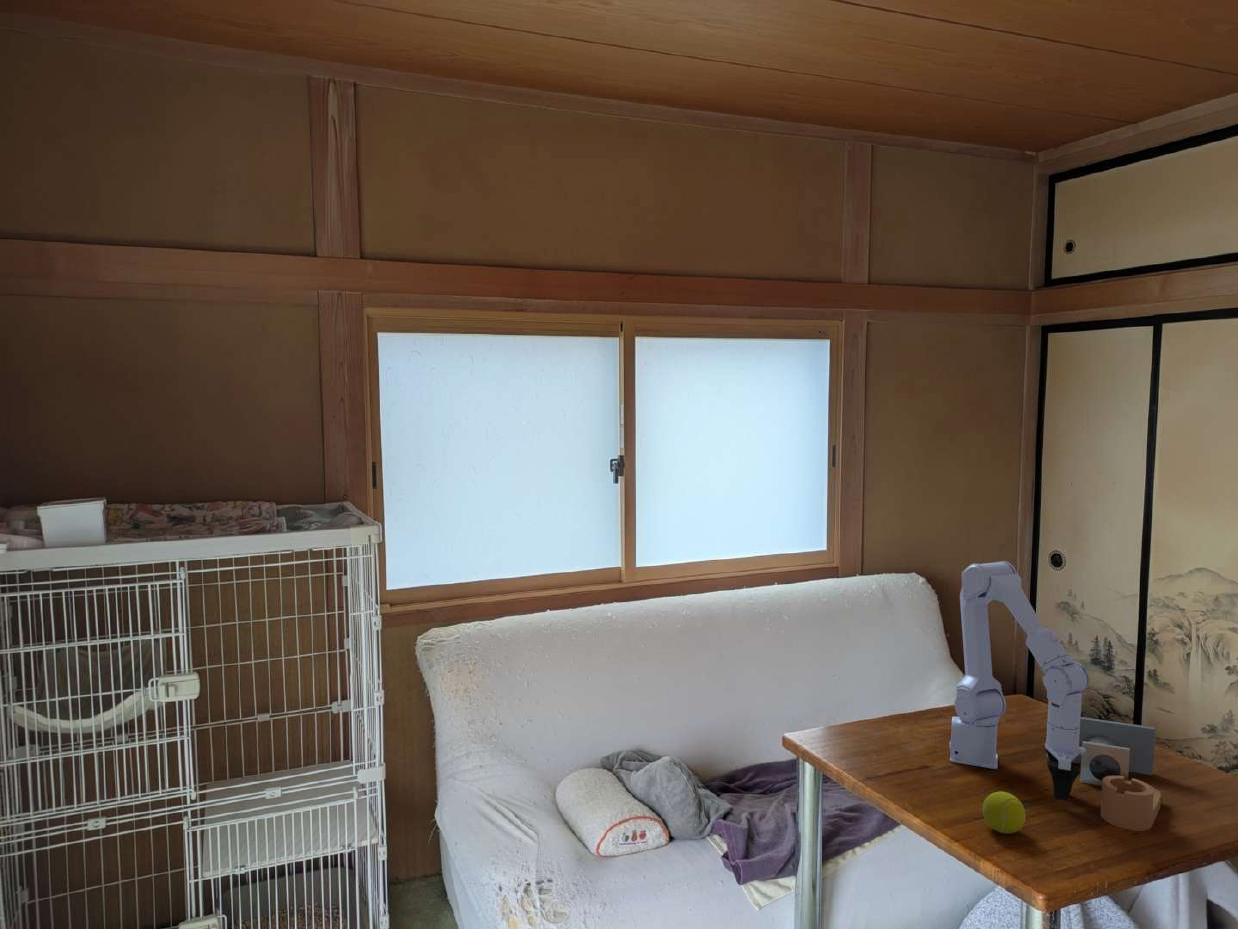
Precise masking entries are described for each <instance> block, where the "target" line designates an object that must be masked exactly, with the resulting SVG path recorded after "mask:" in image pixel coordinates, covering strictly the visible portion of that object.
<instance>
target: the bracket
mask: <svg viewBox="0 0 1238 929" xmlns="http://www.w3.org/2000/svg"><path fill="white" fill-rule="evenodd" d="M1100 798H1101V801H1100V817H1101V818H1102V819H1103V820H1104V821H1105V822H1107V823H1108V824H1111V825H1113V826H1115V827H1117V828H1118V827H1119V828H1122V829H1125V830H1130V831H1139V832H1140V831H1147V830H1150V829H1152V827H1153V825H1154V822H1155V821H1156V818H1157V816H1158V814H1159V811H1160V809H1161V799H1162V794H1161V792H1160V791H1159V790H1158V789H1157V788H1156V787H1154V786H1152V785H1150V784H1148V783H1146V782H1145V781H1142V780H1139V779H1137V778H1131V780H1130V779H1128V780H1124V776H1107V777H1104V778H1103V780H1102V786H1101V797H1100Z"/></svg>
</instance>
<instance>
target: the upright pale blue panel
mask: <svg viewBox="0 0 1238 929" xmlns="http://www.w3.org/2000/svg"><path fill="white" fill-rule="evenodd" d="M1155 735H1156V728H1155V727H1153V726H1146V725H1140V724H1139V725H1138V724H1134V723H1127V722H1119V721H1113V720H1112V721H1111V720H1105V719H1098V718H1091V717H1085V716H1081V719H1080V736H1079V747H1083V748H1085V750H1086V754H1079V755H1078V756H1077V757H1075V758H1074V759H1073V760H1072V761H1071V763H1074V764H1075V763H1076V764H1080V777H1079V778H1080V779H1079V782H1080V783H1084V784H1089V785H1096V786H1101V787H1102V780H1103V778H1104V777H1107V776H1124V780H1129V773H1135V774H1141V775H1142V774H1143V775H1148V776H1153V771H1154V755H1155V753H1154V752H1155V741H1156V740H1155V739H1156V738H1155V737H1156V736H1155ZM1046 759H1049V757H1048V754H1047V753H1046Z"/></svg>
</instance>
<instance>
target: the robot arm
mask: <svg viewBox="0 0 1238 929" xmlns="http://www.w3.org/2000/svg"><path fill="white" fill-rule="evenodd" d="M993 600H994V601H997V602H1001V603H1003V604H1005V607H1006V608H1007V609H1008V610H1009V611H1010V613H1011V614H1012V616H1013V617H1014V619H1015V621H1017V623H1018V625H1020V627H1021V628H1022V630H1023V631H1024V633H1026V640H1025V645H1026V647H1027V648H1028V649H1029V651H1030V652H1031V654H1032V656H1033V657H1034V659H1035V660H1036V662H1037V664H1038V665H1039V667H1040V669H1041V670H1042V672H1043V673H1044V675H1042V683H1043V686H1044V688H1045V690H1046V695H1047V696H1046V697H1047V698H1046V699H1047V700H1048V704H1047V705H1048V707H1047V709H1048V710H1047V723H1046V741H1045V743H1044V750H1045V752H1046V755H1047V754H1048V757H1049V758H1048V760H1047V761H1046V765H1047V768H1048V770H1049V773H1050V776H1051V779H1052V783H1053V784H1052V785H1053V793H1054V798H1055V799H1056V800H1059V801H1065V802H1067V801H1068V800H1069V797H1070V794H1071V791H1072V788H1073V785H1074V782H1075V780H1076V779H1077V777H1078V776H1079V775H1080V774H1081V767H1076V766H1072V762H1071V761H1072V760H1073V759H1074V758H1075V757H1077V756H1078V755H1079V754H1086V750H1085V748H1083V747H1079V736H1080V719H1081V717H1082V716H1081V715H1082V701H1083V699H1082V696H1083V693H1082V692H1084V691H1086V690H1087V688H1089V685H1090V675H1089V673H1088V671H1087V669H1086V667H1085V666H1084V665H1082V664H1081V663H1080V662H1077V661H1075V660H1074V658H1072V657H1071V656H1070V655H1069V654H1068V652H1067V651H1066V649H1065V647H1064V646H1063V645H1062V643H1061V642H1060V637H1059V636H1058V634H1057V633H1055V632H1054V631H1053V630H1052V629H1050V628H1046V627H1044V625H1042V622H1041V620H1040V619H1039V617H1038V615H1037V613H1036V612H1035V609H1034V607H1033V606H1032V604H1031V602H1030V601H1029V599H1028V597H1027V595H1026V593H1025V592H1024V590H1023V588H1022V577H1021V576H1020V575H1019V574H1018V573H1017V570H1016V568H1015V567H1014V565H1013V564H1012V563H1010V562H1008V561H1005V560H1001V561H997V562H988V563H985V562H984V563H972V564H970V565H969V566H967V567H966V568H965V569H964V570H963V571H962V572H961V589H960V593H959V603H960V617H961V630H962V634H961V635H962V644H963V647H962V648H963V656H964V657H963V658H964V659H963V662H964V676H963V678H962V679H961V680H960V681H959V683H958V684H957V685H956V695H955V698H954V709H955V712H956V714H957V716H952V718H951V732H950V733H951V734H950V740H949V746H948V748H949V751H950V756H949V757H950V758H949V761H950V762H952V763H957V764H964V765H969V766H975V767H981V768H986V769H993V770H998V767H999V766H998V762H999V761H998V760H999V758H998V754H997V738H998V737H997V736H998V734H997V733H998V722H1000V717H1001V716H1003V715H1004V713H1005V712H1006V709H1007V703H1006V702H1007V701H1006V698H1005V696H1004V694H1003V691H1002V684H1001V682H999V680H997V679H996V678H995V677H994V676H993V665H992V664H993V663H992V650H991V640H990V639H991V638H990V626H989V625H990V624H989V613H988V612H989V610H988V609H989V608H988V605H989V603H991V602H992V601H993Z"/></svg>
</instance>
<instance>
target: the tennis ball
mask: <svg viewBox="0 0 1238 929" xmlns="http://www.w3.org/2000/svg"><path fill="white" fill-rule="evenodd" d="M981 810H982V816H983V819H984V821H985V822H986V824H987V825H988V826H989V827H990V828H991V829H992V830H994V831H996V832H998V833H1001V834H1004V835H1005V834H1007V835H1009V834H1014V833H1016V832H1018V831H1020V830H1021V828H1023V826H1024V824H1025V822H1026V818H1027V817H1026V809H1025V807H1024V804H1023V803H1022V801H1020V800H1019V798H1018V797H1016V796H1015V795H1013V794H1012V793H1010V792H1007V791H997V792H996V791H995V792H992V793H990V794H989V795H988V796H986V797H985V799H984V801H983V804H982V808H981Z"/></svg>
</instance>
